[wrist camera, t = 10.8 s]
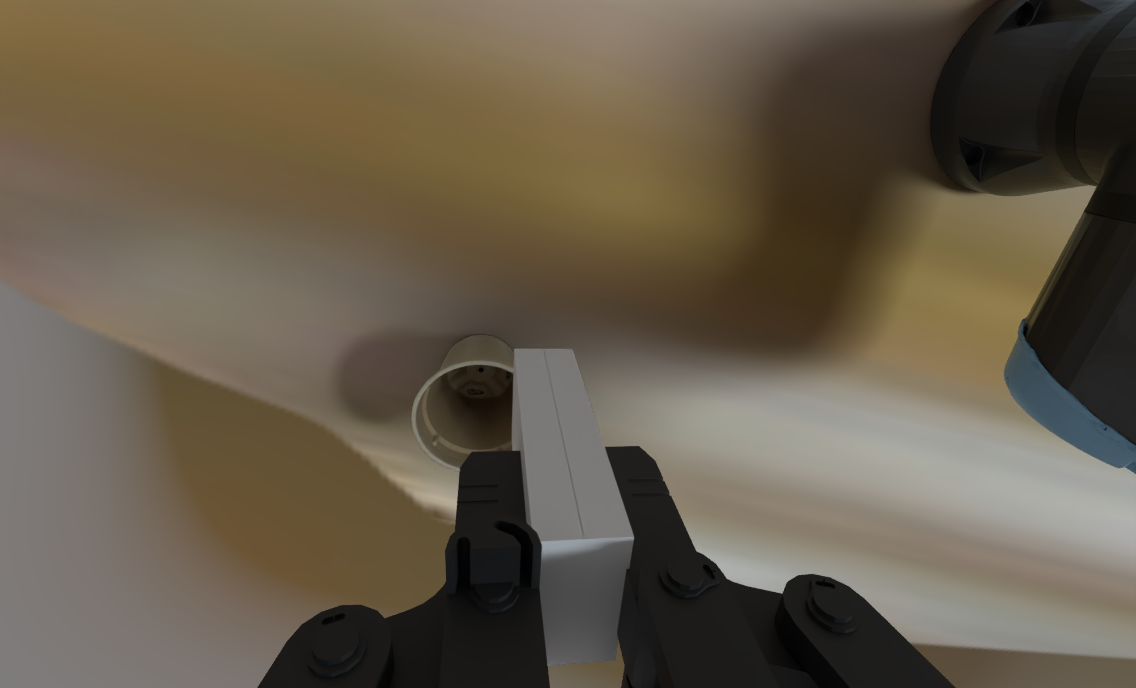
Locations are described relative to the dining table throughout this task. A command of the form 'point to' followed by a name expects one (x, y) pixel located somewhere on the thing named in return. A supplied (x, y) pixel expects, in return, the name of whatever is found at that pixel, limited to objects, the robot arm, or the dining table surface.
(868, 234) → the dining table surface
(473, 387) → the flower pot
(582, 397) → the robot arm
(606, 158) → the dining table surface
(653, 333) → the dining table surface
